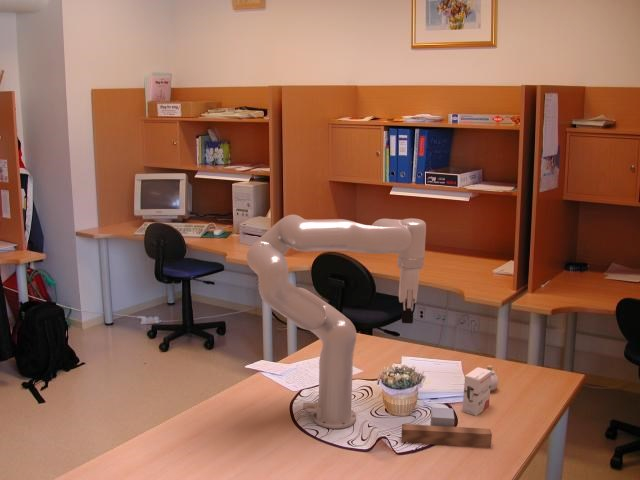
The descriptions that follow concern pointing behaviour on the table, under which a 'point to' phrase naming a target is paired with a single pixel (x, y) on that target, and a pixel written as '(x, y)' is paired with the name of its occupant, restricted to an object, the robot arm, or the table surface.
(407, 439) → the board
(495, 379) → the ornament
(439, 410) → the block
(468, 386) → the ink box
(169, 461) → the table surface
